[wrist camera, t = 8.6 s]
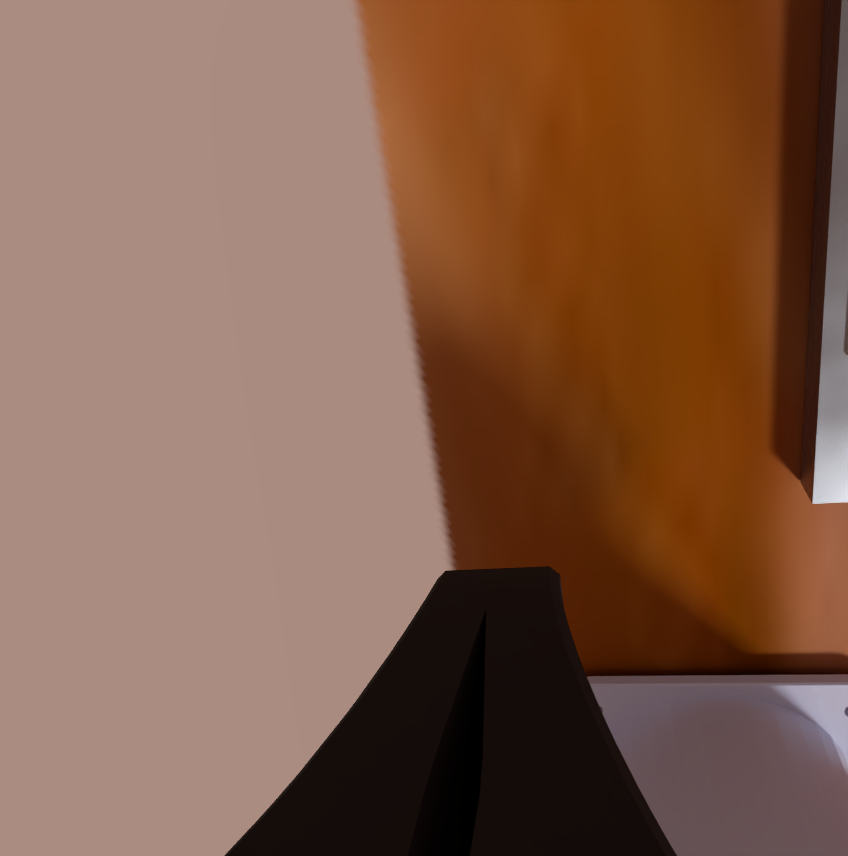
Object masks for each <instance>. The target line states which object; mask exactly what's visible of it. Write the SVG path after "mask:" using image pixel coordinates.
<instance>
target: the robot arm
mask: <svg viewBox="0 0 848 856" xmlns="http://www.w3.org/2000/svg"><path fill="white" fill-rule="evenodd" d="M225 856H848V674H828V675H687V676H589V677H587V676H586V674H585V671H584V669H583V666H582V664H581V661H580V658H579V656H578V653H577V650H576V647H575V644H574V641H573V638H572V635H571V632H570V629H569V626H568V622H567V618H566V615H565V611H564V607H563V598H562V589H561V580H560V574H558V573H557V572H556V571H554V570H553V569H552V568H551V567H527V568H502V569H477V570H453V571H445V572H444V573H443V574H442V575H441V576H440V577H439V578H438V579H437V581H436V583H435V584H434V586H433V588H432V589H431V591H430V593H429V594H428V596H427V598H426V599H425V601H424V602H423V604H422V606H421V607H420V609H419V610H418V612H417V613H416V615H415V617H414V618H413V620H412V621H411V623H410V624H409V626H408V627H407V629H406V630H405V632H404V633H403V635H402V637H401V638H400V639H399V641H398V642H397V644H396V645H395V647H394V648H393V650H392V651H391V653H390V654H389V656H388V657H387V658H386V660H385V661H384V663H383V664H382V665H381V667H380V668H379V670H378V671H377V673H376V674H375V675H374V677H373V678H372V679H371V681H370V682H369V684H368V685H367V687H366V688H365V689H364V691H363V692H362V693H361V695H360V696H359V698H358V699H357V700H356V702H355V703H354V704H353V706H352V707H351V708H350V710H349V711H348V712H347V714H346V715H345V716H344V718H343V719H342V720H341V721H340V723H339V724H338V725H337V726H336V728H335V729H334V730H333V731H332V733H331V734H330V735H329V736H328V738H327V739H326V740H325V741H324V743H323V744H322V745H321V746H320V748H319V749H318V750H317V751H316V753H315V754H314V755H313V756H312V758H311V759H310V760H309V761H308V763H307V764H306V765H305V766H304V768H303V769H302V770H301V771H300V773H299V774H298V775H297V776H296V777H295V779H294V780H293V781H292V782H291V783H290V784H289V786H287V788H286V789H285V790H284V791H283V792H282V793H281V795H280V796H279V797H278V798H277V799H276V800H275V802H274V803H273V804H272V805H271V806H270V807H269V808H268V809H267V810H266V812H265V813H264V814H263V815H262V816H261V817H260V818H259V819H258V820H257V821H256V823H255V824H254V825H253V826H252V827H251V828H250V829H249V830H248V831H247V832H246V833H245V834H244V835H243V836H242V838H241V839H240V840H239V841H238V842H237V843H236V844H235V845H234V846H233V847H232V848H231V849H230V850H229V851H228V853H227V854H226V855H225Z"/></svg>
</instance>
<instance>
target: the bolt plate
mask: <svg viewBox="0 0 848 856" xmlns="http://www.w3.org/2000/svg"><path fill="white" fill-rule="evenodd" d="M801 484H802V486H803V487H804V489H805V491H806V493H807V495H808V497H809V498H810V500H811V502H812V504H819V503H839V502H848V0H825V5H824V25H823V45H822V65H821V85H820V105H819V125H818V145H817V166H816V186H815V206H814V226H813V246H812V266H811V286H810V306H809V326H808V347H807V367H806V387H805V407H804V427H803V447H802V467H801Z"/></svg>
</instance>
